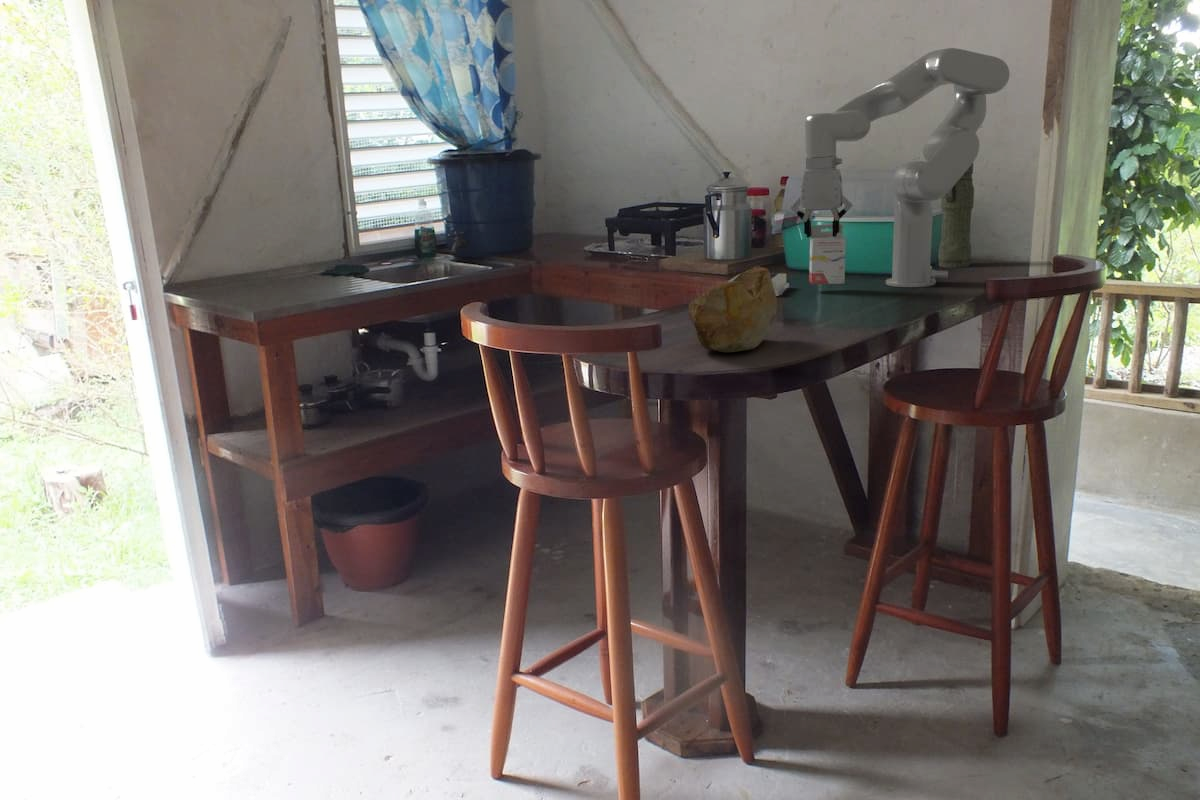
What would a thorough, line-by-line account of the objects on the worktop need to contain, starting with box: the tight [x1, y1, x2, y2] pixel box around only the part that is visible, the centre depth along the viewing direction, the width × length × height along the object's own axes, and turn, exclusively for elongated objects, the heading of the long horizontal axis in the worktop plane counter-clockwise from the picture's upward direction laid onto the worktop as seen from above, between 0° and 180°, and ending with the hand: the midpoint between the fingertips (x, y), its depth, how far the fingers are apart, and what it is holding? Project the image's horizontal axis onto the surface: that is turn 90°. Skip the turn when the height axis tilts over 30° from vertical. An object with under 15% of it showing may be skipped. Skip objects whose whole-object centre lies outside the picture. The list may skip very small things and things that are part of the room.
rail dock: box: [727, 272, 790, 297], centre depth 256 cm, size 14×15×4 cm
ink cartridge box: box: [808, 223, 847, 285], centre depth 248 cm, size 9×5×15 cm, turn 85°
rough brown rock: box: [688, 265, 778, 353], centre depth 191 cm, size 23×17×15 cm
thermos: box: [937, 162, 975, 269], centre depth 279 cm, size 9×12×35 cm
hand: (821, 235), depth 247 cm, fingers closed on ink cartridge box, 5 cm apart
